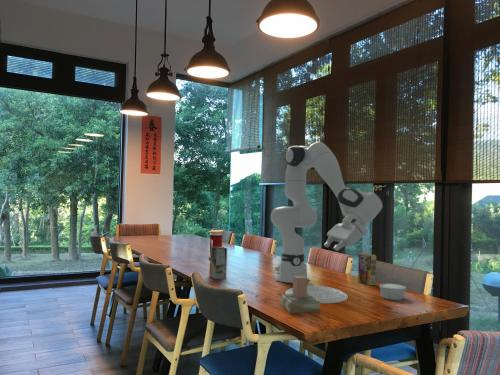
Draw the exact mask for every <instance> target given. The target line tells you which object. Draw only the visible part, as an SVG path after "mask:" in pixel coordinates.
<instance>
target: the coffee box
mask: <svg viewBox="0 0 500 375" xmlns="http://www.w3.org/2000/svg"><path fill="white" fill-rule="evenodd" d="M209 251H210V254H209V255H210V257H209V277H210V278H212V279H214V280H221V279H222V280H223V279H225V280H226V279H227V261H228V260H227V259H228V258H227V257H228V256H227V255H228V248H226V247H224V246H219V245H218V246H216V245H215V246H210V250H209Z"/></svg>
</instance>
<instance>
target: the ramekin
mask: <svg viewBox="0 0 500 375" xmlns="http://www.w3.org/2000/svg"><path fill="white" fill-rule="evenodd" d="M379 288H380V289H379V290H380V296H381V297H382V298H383V299H386V300H391V301H402V300H404V298H405V294H406V291H407V287H406V286H405V285H402V284H396V283H380V284H379Z"/></svg>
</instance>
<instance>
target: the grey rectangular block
mask: <svg viewBox="0 0 500 375" xmlns="http://www.w3.org/2000/svg"><path fill="white" fill-rule="evenodd" d="M307 277H308V276H307ZM307 277H305V276H293V283H292V288H293V296H294V297H295V298H296V299H299V298H307V285H308V281H307Z"/></svg>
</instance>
